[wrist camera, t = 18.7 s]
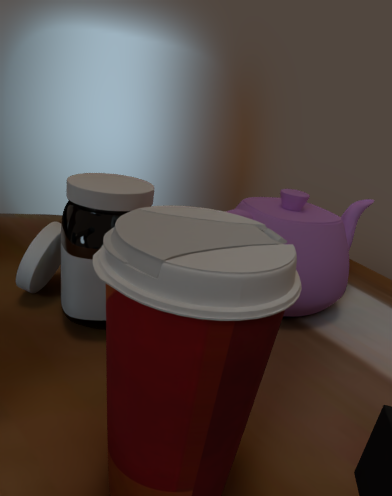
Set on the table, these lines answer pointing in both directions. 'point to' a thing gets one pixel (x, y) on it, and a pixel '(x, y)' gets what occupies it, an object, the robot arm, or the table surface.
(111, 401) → the paper cup
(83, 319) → the spread jar
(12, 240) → the table surface
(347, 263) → the teapot
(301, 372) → the table surface
